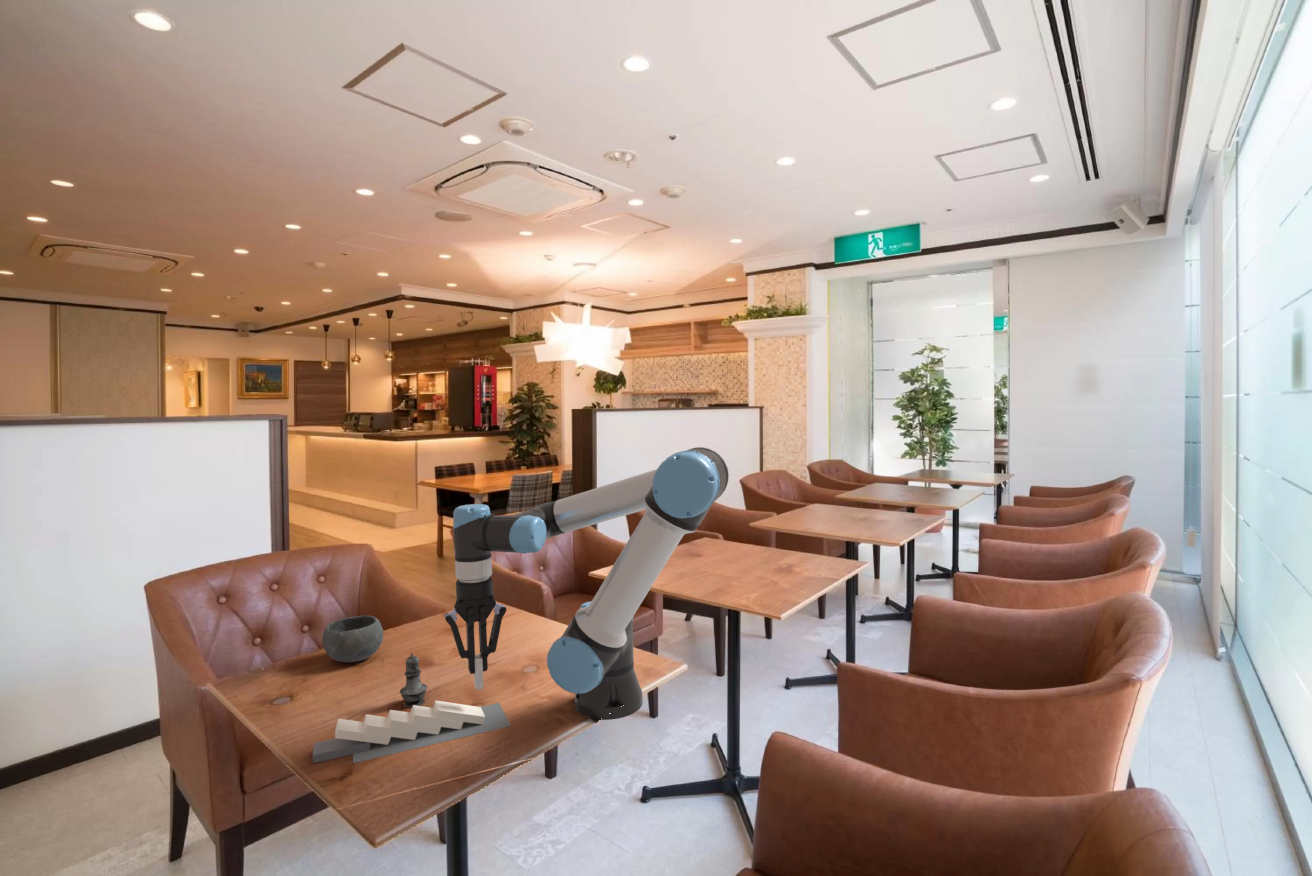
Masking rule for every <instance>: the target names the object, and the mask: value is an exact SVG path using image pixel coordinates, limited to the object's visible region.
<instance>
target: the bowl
mask: <svg viewBox="0 0 1312 876" xmlns="http://www.w3.org/2000/svg"><path fill="white" fill-rule="evenodd" d="M321 640H322V646H323V649H324V651H325V652H326V655H327V656H328V657H329V658H331V660H332V659H333V661H334V660H335V661H337V662H340V663H348V664H349V663H355V662H356V663H357V662H361V661H365V660H366V659H368V658H370V657H371V656H373V655H374V654H375V653H377V652H378V650H379V648H380V646H381V645H382V643H383V640H384V629H383V627H382V624H381V621H380V620H379V619H378V618H377V617H375V616H373V615H356V616H350V617H349V616H348V617H343V618H340V619H337V620H335V621H332V622H330V623H329V624H327V625H326V627H325V628H324V630H323V634H322V639H321Z"/></svg>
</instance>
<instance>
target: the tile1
mask: <svg viewBox="0 0 1312 876" xmlns="http://www.w3.org/2000/svg"><path fill="white" fill-rule="evenodd" d="M481 707H482V706H477V705H476V706H475V705H469V704H461V703H457V702H448V701H442V700H436V699H435V700H434V704H433V707H432V708H433V710H434V714H435V718H439V719H447V720H454V721H461V722H468V723H476V724H483V722H484V719H485V715H484V713H483V711H482V709H481Z"/></svg>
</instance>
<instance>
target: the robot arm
mask: <svg viewBox="0 0 1312 876" xmlns="http://www.w3.org/2000/svg"><path fill="white" fill-rule="evenodd" d="M729 479H730V476H729V468H728V466H727V463H726V462H725V460H724V459H723V457H722V456H721V455H720V454H719V453H717V452H716V451H715V450H712V449H710V448H707V447H699V446H698V447H693V448H689V449H687V450H682V451H678V452H675V453H673V454H671V455H669V456H668V457H666V459H665V460H663V461H662V462H661V463H660V465H659V466H658V467H657V469H652V470H650V471H648V472H644V473H640V474H637V475H634V476H631V477H628V478H624V479H621V480H618V481H615V482H612V483H608V484H606V485H602V486H599V487H596V488H593V489H592V488H591V489H590V490H587V491H583V492H579V493H576V494H572V495H571V496H570V495H569V496H567V497H564V498H560V499H557V500H555V501H554V500H553V501H550V502H545V503H542V504H538V505H536V506H535V507H532V508H530V509H527V510H524V511H521V512H518V513H515V514H513V515H494V514H491V509H490V507H489V505H487V504H482V503H474V504H473V503H472V504H464V505H459V506H458V507H457V506H456V507H455V509H454V510H453V515H452V516H453V518H452V519H453V523H452V526H453V527H452V530H453V532H452V533H453V541H454V542H453V543H454V569H455V571H454V572H455V578H456V579H457V580H456V581H455V593H456V594H455V597H456V601H455V604H454V605H453V607H454V608H453V609H451V611H449V612H446V613H444V615H443V617H444V620H445V622H447V624H448V625H449V627H450V629H451V632H452V635H453V638H454V641H455V645H456V648H457V651H458V655H459V657H460V659H467V663H468V664H467V666H468V671H469V673H470V675H472V674H473V685H474V687H475V690H476V691H478V690H483V689H484V672H487V671H488V669H489V664H488V657H489V655H490V654H493V653H495V652H497V646H498V641H499V637H500V632H501V625H502V620H503V617H504V616H505V614H506V612H507V611H508V610H507V608H506V605H504V604H499V603H498V602H497V600H496V599H495V598H494V597H495V596H494V585H493V580H494V579H493V577H492V575H493V561H492V552H499V553H501V552H502V553H517V554H522V555H523V554H524V555H525V554H529V553H531V554H532V553H533V554H535V553H538V552H540V551H541V550H542V549H543V546H544V545H545V543H546V541H547V540H548V539H550V538H553V537H557V536H560V535H561V536H562V535H563V534H566V533H569V532H572V531H575V530H579V529H584V528H588V527H589V526H590V527H591V526H593V525H597V524H601V523H604V522H607V521H611V520H615V519H617V518H622V517H625V516H628V515H632V514H635V513H638V512H642V511H645V512H644V514H643V516H642V517H641V519H640V521H639V522H638V524H637V526H636V528H635V529H634V531H633V532H632V534H631V536H630V537H629V538H628V541H627V542H626V544H625V546H624V547H623V549H622V550H621V552H620V554H619V555H618V557H617V558H616V560H615V562H614V564H613V565H612V567H611V569H610V570H609V572H608V573H607V575H606V577H605V579H604V581H603V582H602V583H601V585H600V587H599V589H598V590H597V592H596V593H595V595H594V597H593V598H592V600H591V601H586V602H583V603H582V604H581V605H580V607H579V609H578V610H577V611H576V612H575V613H574V616H573V617H572V619H571V620H570V621H569V624H568V625H567V627H566V628H565V631H564V632H563V633H562V635H561V636H560V637H559V638H557V639H556V640H555V641H553V643H552V644H551V647H550V648H549V650H548V652H547V655H546V656H547V657H546V665H547V669H548V671H549V676H550V677H551V678H552V680H553V682H555V684H556V685H557V686H558V687H559V688H561V689H562V690H564V691H566V692H567V693H571V694H574V708H575V710H576V711H577V712H578V713H579V714H580V715H582V716H584V717H587V718H590V719H592V720H598V719H600V720H601V721H611V720H618V719H621V718H625V717H628V716H631V715H633V714H635V713H637V712H638V711H639V710H640V709H641V708H642V706H643V702H644V700H643V690H642V688H641V685H640V683H639V679H638V676H637V673H636V671H635V665H634V663H635V662H634V659H635V658H634V657H635V656H634V625H633V624H634V622H633V621H634V616H635V614H636V612H637V611H638V609H639V608H640V606H641V605H642V603H643V601H644V600H645V598H646V596H647V595H648V593H649V591H650V590H651V589H652V587H653V585H654V584H655V582H656V580H657V578H658V577H659V576H660V574H661V572H662V571H663V569H664V567H665V566H666V564H667V563H668V561H669V560H670V558H671V556H672V555H673V553H674V551H675V550H676V548H677V546H678V545H679V543H680V542H681V540H682V538H683V537H684V536H685V535H687V534H693V533H695V532H696V531H697V530H698V528H699V527H700V524H701V523H702V522H703V520H704V518H705V517H706V515H707V514H708V512H709V511H710V509H711V507H712V506H713V505H714V503H715V501H717V500H718V499H719V498H720V497H722V495H723V494H724V492H725V491H726V489H727V486H728V484H729ZM492 612H493V613H494V616H493V620H492V626H491V631H490V635H489V639H488V637H487V635H488V633H487V625H488V623H487V619H488V618H489V616H490V614H492ZM457 614H458V616H459V617H461V619H462V620H463V621H464V622H465V627H466V630H465V631H466V649H467V650H466V649H465V646H464V642H463V639H462V637H461V633H460V630H459V627H458V624H457V623H456V622H457V620H458V616H457ZM475 623H478V640H479V642H478V644H479V654H478V653H477V654H476V645H475V641H476V640H475ZM623 705H624V706H623ZM621 706H622V707H621ZM609 713H611V714H609ZM601 718H602V719H601Z"/></svg>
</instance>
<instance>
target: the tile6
mask: <svg viewBox="0 0 1312 876" xmlns="http://www.w3.org/2000/svg"><path fill="white" fill-rule="evenodd" d="M312 749H313V750H312V764H316V763H321V762H325V761H329V760H334V759H338V758H342V757H347V756H351V755H352V756H353V754H356V753H361V752H365V751H369V750H370V742H362V741H355V740H347V739H339V738H335V737H334V738H331V739H326V740H322V741H317V742H314V743H313V747H312Z"/></svg>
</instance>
